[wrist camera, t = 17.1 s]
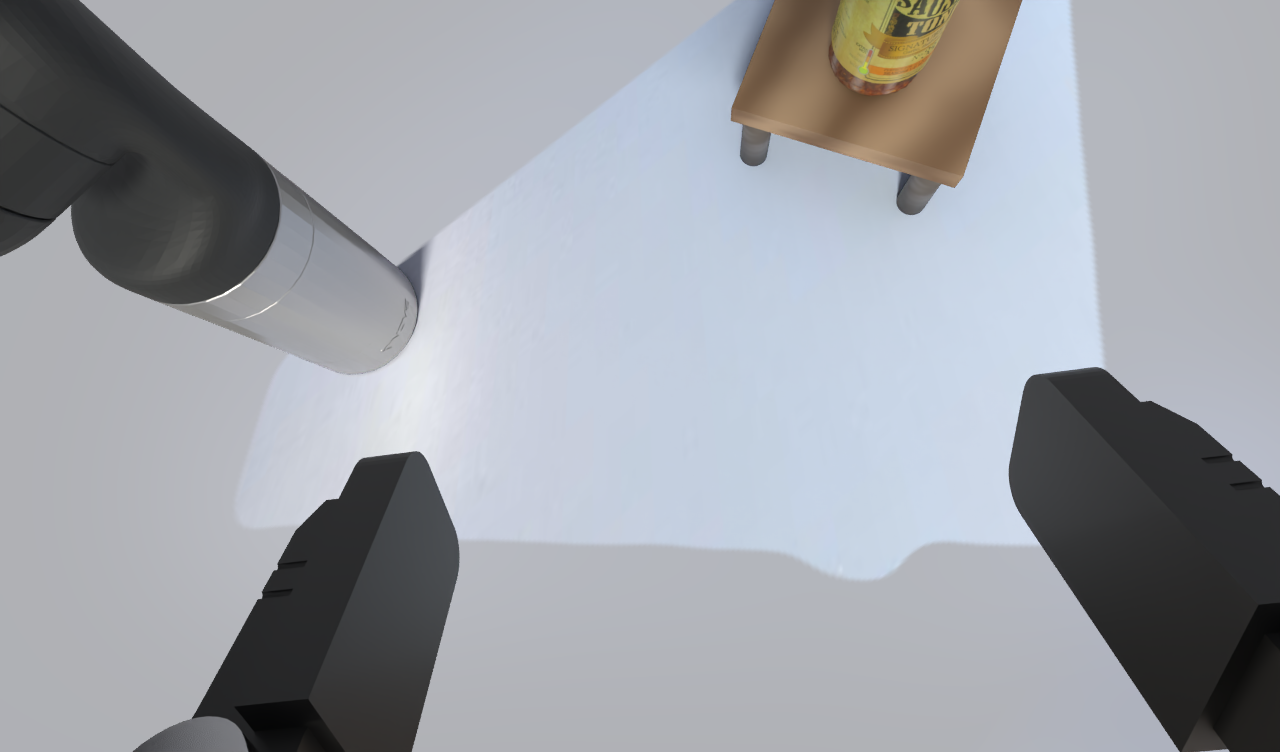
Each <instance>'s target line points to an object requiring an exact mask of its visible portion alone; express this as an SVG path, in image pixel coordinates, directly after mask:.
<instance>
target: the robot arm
mask: <svg viewBox="0 0 1280 752" xmlns="http://www.w3.org/2000/svg"><path fill="white" fill-rule="evenodd" d="M70 205H71V216H72V225H73V231H74V235H75V238H76V241H77V243H78V245H79V247H80V249H81V251H82V253H83V255H84V256H85V258H86V259H87V260H88V262H89V263H90V264H91V265H92V266H93V267H94V268H95V269H96V270H97V271H98V272H99V273H100V274H102V275H103V276H104V277H105V278H107V279H108V280H110V281H112V282H113V283H115V284H117V285H119V286H121V287H123V288H125V289H127V290H129V291H132V292H134V293H137V294H139V295H142V296H144V297H147V298H150V299H152V300H154V301H157V302H159V303H162V304H165V305H167V306H170V307H172V308H175V309H177V310H180V311H182V312H185V313H188V314H190V315H192V316H195V317H198V318H201V319H203V320H206V321H208V322H211V323H213V324H216V325H218V326H221V327H223V328H226V329H229V330H231V331H234V332H236V333H239V334H241V335H244V336H246V337H249V338H251V339H254V340H256V341H259V342H261V343H264V344H266V345H269V346H271V347H274V348H277V349H279V350H282V351H284V352H287V353H289V354H292V355H294V356H297V357H299V358H301V359H304V360H306V361H309V362H312V363H314V364H317V365H319V366H322V367H324V368H327V369H330V370H332V371H335V372H338V373H344V374H363V373H366V372H370V371H374V370H376V369H378V368H380V367H382V366H384V365H386V364H387V363H389V362H390V361H391V360H392V359H394V358H395V357H396V356H397V355H398V354H399V353H400V352H401V351H402V349H403V348H404V347H405V346H406V344H407V342H408V341H409V339H410V337H411V336H412V333H413V330H414V327H415V324H416V318H417V299H416V295H415V292H414V289H413V286H412V285H411V283H410V281H409V280H408V278H407V277H406V276H405V275H404V274H403V273H402V271H401V270H400V269H399V268H397V267H396V266H395V265H394V264H392V263H391V262H390V261H389V260H387V259H386V258H385V257H384V256H383V255H381V254H380V253H379V252H378V251H377V250H376V249H374V248H373V247H372V246H370V245H369V244H368V243H367V242H366V241H364V240H363V239H362V238H361V237H360V236H358V235H357V234H356V233H354V232H353V231H352V230H351V229H350V228H348V227H347V226H346V225H345V224H343V223H342V222H341V221H340V220H339V219H337V218H336V217H335V216H333V215H332V214H331V213H330V212H329V211H327V210H326V209H325V208H324V207H323V206H321V205H320V204H319V203H318V202H316V201H315V200H314V199H313V198H311V197H310V196H309V195H308V194H306V193H305V192H304V191H303V190H301V189H300V188H299V187H298V186H297V185H295V184H294V183H293V182H292V181H290V180H289V179H288V178H287V177H285V176H284V175H283V174H281V173H280V172H279V171H278V170H276V169H275V168H274V167H273V166H272V165H270V164H269V163H268V162H266V161H265V160H264V159H263V158H262V157H260V156H259V155H258V154H257V153H256V152H255V151H254V150H252V149H251V148H250V147H249V146H247V145H246V144H245V143H244V142H242V141H241V140H240V139H238V138H237V137H236V136H235V135H233V134H232V133H231V132H229V131H228V130H227V129H226V128H224V127H223V126H222V125H221V124H219V123H218V122H217V121H215V120H214V119H213V118H212V117H210V116H209V115H208V114H207V113H205V112H204V111H203V110H202V109H200V108H199V107H198V106H197V105H196V104H194V103H193V102H192V101H190V100H189V99H188V98H187V97H186V96H185V95H183V94H182V93H181V92H180V91H178V90H177V89H176V88H175V87H174V86H173V85H171V84H170V83H169V82H168V81H167V80H166V79H165V78H164V77H162V76H161V75H160V74H159V73H158V72H157V71H156V70H155V69H153V68H152V67H151V66H150V65H149V64H148V63H147V62H146V61H145V60H144V59H143V58H141V57H140V56H139V55H138V54H137V53H136V52H135V51H134V50H133V49H132V48H131V47H129V46H128V45H127V44H126V43H125V42H124V41H123V40H122V39H120V37H119V36H117V35H116V34H115V33H114V32H113V31H112V30H111V29H110V28H109V27H108V26H106V25H105V24H104V23H103V22H102V21H101V20H100V19H99V18H98V17H97V16H96V15H94V14H93V13H92V12H91V11H90V10H89V9H88V8H87V7H86V6H85V5H84V4H83V3H81V2H80V1H79V0H0V256H3V255H5V254H7V253H9V252H11V251H13V250H15V249H17V248H19V247H20V246H22V245H24V244H26V243H27V242H29V241H30V240H31V239H33V238H34V237H36V236H37V235H38V234H39V233H41V232H42V231H43V230H44V229H45V228H46V227H48V226H49V225H50V224H51V223H52V222H53V221H54V220H55V219H56V217H58V216H59V215H60V214H61V213H63V212H64V211H65V210H66V209H67V208H68V207H69V206H70ZM1009 483H1010V488H1011V493H1012V496H1013V499H1014V502H1015V505H1016V507H1017V509H1018V511H1019V512H1020V514H1021V516H1022V517H1023V519H1024V520H1025V522H1026V523H1027V525H1028V526H1029V528H1030V529H1031V531H1032V532H1033V534H1034V535H1035V537H1036V538H1037V540H1038V541H1039V543H1040V544H1041V546H1042V547H1043V549H1044V550H1045V552H1046V553H1047V555H1048V556H1049V557H1050V559H1051V561H1052V562H1053V564H1054V565H1055V567H1056V568H1057V569H1058V571H1059V572H1060V574H1061V575H1062V577H1063V578H1064V580H1065V581H1066V583H1067V584H1068V586H1069V587H1070V589H1071V590H1072V592H1073V593H1074V595H1075V596H1076V598H1077V599H1078V601H1079V602H1080V604H1081V605H1082V607H1083V608H1084V610H1085V611H1086V613H1087V614H1088V616H1089V617H1090V619H1091V620H1092V622H1093V623H1094V625H1095V626H1096V628H1097V629H1098V631H1099V632H1100V634H1101V635H1102V636H1103V638H1104V639H1105V641H1106V642H1107V644H1108V645H1109V647H1110V649H1111V650H1112V651H1113V653H1114V654H1115V656H1116V657H1117V659H1118V660H1119V662H1120V663H1121V665H1122V666H1123V668H1124V669H1125V671H1126V672H1127V674H1128V675H1129V677H1130V678H1131V680H1132V681H1133V683H1134V684H1135V686H1136V687H1137V689H1138V690H1139V692H1140V693H1141V695H1142V696H1143V698H1144V699H1145V701H1146V702H1147V704H1148V705H1149V707H1150V708H1151V710H1152V711H1153V713H1154V714H1155V716H1156V717H1157V718H1158V720H1159V721H1160V723H1161V725H1162V726H1163V728H1164V729H1165V731H1166V732H1167V733H1168V735H1169V736H1170V738H1171V739H1172V741H1173V742H1174V744H1175V745H1176V747H1177V748H1178V750H1179V751H1180V752H1200V751H1210V750H1222V749H1228V750H1229V751H1230V752H1280V496H1279V495H1278V494H1277V493H1276V492H1275V491H1274V490H1272V489H1271V488H1270V487H1266V488H1264V487H1263V485H1262V480H1261V479H1260V478H1259V477H1258V476H1257V475H1255V474H1254V473H1253V472H1252V471H1250V469H1248V468H1247V467H1246V466H1245V465H1244V464H1243V463H1242V462H1240V461H1234V460H1233V459H1232V454H1231V453H1230V452H1229V451H1228V450H1227V449H1226V448H1224V447H1223V446H1222V445H1221V444H1220V443H1219V442H1217V441H1216V440H1215V439H1214V438H1213V437H1212V436H1211V435H1209V434H1208V433H1207V432H1206V431H1204V429H1203V428H1201V427H1200V426H1199V425H1198V424H1196V423H1194V422H1192V421H1190V420H1188V419H1186V418H1184V417H1182V416H1180V415H1178V414H1176V413H1174V412H1172V411H1170V410H1168V409H1166V408H1164V407H1162V406H1160V405H1158V404H1156V403H1154V402H1152V401H1146V402H1140V401H1139V400H1138V399H1137V398H1135V397H1134V396H1133V395H1132V394H1131V393H1130V392H1129V391H1128V390H1127V389H1126V388H1124V387H1123V386H1122V385H1121V384H1120V383H1119V382H1118V381H1117V380H1116V379H1115V378H1114V377H1112V375H1110V374H1109V373H1108V372H1107V371H1106V370H1104V369H1102V368H1098V367H1092V368H1084V369H1077V370H1069V371H1061V372H1053V373H1045V374H1037V375H1033V376H1031V377H1030V378H1029V379H1028V381H1027V382H1026V384H1025V387H1024V391H1023V395H1022V401H1021V406H1020V411H1019V416H1018V422H1017V427H1016V432H1015V437H1014V443H1013V448H1012V453H1011V458H1010V464H1009ZM458 570H459V545H458V538H457V534H456V531H455V528H454V525H453V523H452V521H451V518H450V516H449V513H448V511H447V508H446V506H445V503H444V501H443V499H442V496H441V494H440V491H439V489H438V486H437V484H436V481H435V479H434V476H433V474H432V472H431V469H430V467H429V464H428V462H427V460H426V459H425V457H424V456H423V455H422V454H421V453H420V452H417V451H415V452H407V453H399V454H391V455H383V456H375V457H367V458H363V459H361V460H360V461H359V462H358V463H357V464H356V466H355V467H354V469H353V471H352V473H351V475H350V477H349V479H348V481H347V483H346V485H345V487H344V489H343V491H342V493H341V495H340V497H339V499H332V500H326V501H325V502H324V503H323V504H322V505H321V506H320V507H319V508H318V509H317V510H316V511H315V512H314V513H313V514H312V515H311V516H310V517H309V518H308V519H307V520H306V521H305V522H304V523H303V524H302V525H301V526H300V527H299V528H298V529H297V530H296V531H295V533H294V535H293V536H292V538H291V540H290V542H289V544H288V545H287V547H286V549H285V551H284V553H283V555H282V556H281V559H280V560H279V562H278V570H275V571H273V573H272V575H271V577H270V578H269V580H268V582H267V584H266V585H265V587H264V589H263V591H262V594H263V597H262V599H258V600H257V602H256V604H255V606H254V607H253V609H252V611H251V613H250V615H249V616H248V618H247V620H246V622H245V624H244V626H243V627H242V629H241V631H240V633H239V635H238V636H237V638H236V640H235V642H234V644H233V646H232V647H231V649H230V651H229V653H228V655H227V656H226V658H225V660H224V662H223V664H222V666H221V668H220V669H219V671H218V673H217V675H216V676H215V678H214V680H213V682H212V684H211V686H210V687H209V689H208V691H207V693H206V695H205V697H204V698H203V700H202V702H201V704H200V706H199V707H198V709H197V711H196V713H195V714H194V716H193V717H192V719H190V720H187V721H183V722H181V723H178V724H176V725H174V726H171V727H169V728H167V729H165V730H164V731H162V732H160V733H158V734H157V735H155V736H153V737H152V738H150V739H149V740H147V741H146V742H144V743H143V744H141V745H140V746H139V747H138V748H136V749H135V750H134V751H133V752H412V748H413V745H414V741H415V737H416V733H417V729H418V725H419V722H420V718H421V714H422V710H423V706H424V702H425V699H426V695H427V691H428V687H429V683H430V679H431V675H432V672H433V668H434V664H435V660H436V657H437V653H438V648H439V645H440V641H441V637H442V633H443V630H444V626H445V622H446V618H447V614H448V611H449V607H450V603H451V599H452V595H453V592H454V588H455V584H456V580H457V576H458Z"/></svg>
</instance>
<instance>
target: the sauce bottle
mask: <svg viewBox="0 0 1280 752" xmlns="http://www.w3.org/2000/svg"><path fill="white" fill-rule="evenodd" d="M959 1H960V0H841V1H840V5H839V8H838V11H837V15H836V18H835V21H834V24H833V27H832V33H831V35H832V41H831V44H830V46H829V60H830V65H831V68H832V70H833V73H834V75H835V76H836V77H837V78H838V80H839V81H840V82H841V83H842V84H843V85H845V86H846V87H847V88H848V89H850V90H851V91H853V92H856V93H859V94H863V95H868V96H877V95H887V94H890V93H895V92H897V91H899V90H900V89H903V88H905V87H907V86H908V84H909V83H911V82H912V80H913V79H914V78H915V77H916V76H917V74H918V73H919V71H920V70H921V69H923V67H924V66H925V65H926V64H927V62H928V61H929V59H930V57H931V55H932V53H933V51H934V49H935V47H936V45H937V43H938V42H939V40H940V38H941V36H942V34H943V32H944V30H945V28H946V26H947V24H948V22H949V20H950V18H951V16H952V14H953V12H954V10H955V8H956V6H957V5H958V3H959Z"/></svg>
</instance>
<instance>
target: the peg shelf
mask: <svg viewBox="0 0 1280 752" xmlns="http://www.w3.org/2000/svg"><path fill="white" fill-rule="evenodd" d="M840 1H841V0H775V1H774V4H773V6H772V9H771V11H770V14H769V16H768V19H767V21H766V24H765V26H764V29H763V31H762V34H761V36H760V39H759V41H758V44H757V46H756V48H755V51H754V53H753V56H752V58H751V61H750V63H749V66H748V68H747V71H746V73H745V76H744V78H743V81H742V83H741V86H740V88H739V91H738V93H737V96H736V98H735V101H734V103H733V106H732V111H731V121H733V122H737V123H740V124H743V130H742V140H741V151H740V157H741V159H742V161H743V162H744V163H745V164H747V165H749V166H758V165H760V164H762V163H763V162H764V161H765V159H766V157H767V152H768V146H769V140H770V134H771V133H774V134H777V135H780V136H784V137H787V138H790V139H794V140H797V141H800V142H804V143H807V144H810V145H814V146H817V147H820V148H824V149H827V150H830V151H834V152H837V153H840V154H844V155H847V156H850V157H854V158H857V159H860V160H864V161H867V162H870V163H874V164H877V165H880V166H884V167H887V168H890V169H894V170H897V171H900V172H904V173H907V174H910V175H911V176H910V177H909V179H908V181H907V182H906V184H905V186H904V187H903V189H902V191H901V192H900V194H899V196H898V197H897V206H898V208H899V209H900V211H902V212H903V213H905V214H908V215H915V214H918V213H920V212H921V211H922V210H923V208H924V207H925V206H926V204H927V203H928V201H929V200H930V199H931V197H932V196H933V194H934V193H935V192H936V190H937V189H938V187H939V186H940V184H944V185H947V186H950V187H954V188H955V187H956V185H957V184H958V183H959V181H960V180H961V179H962V177H963V176H964V173H965V170H966V167H967V164H968V161H969V158H970V155H971V152H972V149H973V146H974V143H975V140H976V137H977V134H978V131H979V128H980V125H981V122H982V119H983V116H984V113H985V110H986V107H987V104H988V101H989V98H990V95H991V92H992V89H993V86H994V83H995V80H996V77H997V74H998V71H999V68H1000V65H1001V62H1002V59H1003V56H1004V53H1005V50H1006V47H1007V44H1008V41H1009V38H1010V35H1011V32H1012V29H1013V26H1014V23H1015V20H1016V17H1017V14H1018V11H1019V8H1020V5H1021V2H1022V0H960V1H959V3H958V5H957V6H956V8H955V10H954V12H953V14H952V16H951V18H950V20H949V22H948V24H947V26H946V28H945V30H944V32H943V34H942V36H941V38H940V40H939V42H938V43H937V45H936V47H935V49H934V51H933V53H932V55H931V57H930V59H929V61H928V62H927V64H926V65H925V66H924V67H923V69H921V70H920V71H919V73H918V74H917V76H916V77H915V78H914V79H913V80H912V82H911V83H909V84H908V86H907V87H905V88H903V89H900V90H899V91H897V92H895V93H890V94H887V95H877V96H868V95H863V94H859V93H856V92H853V91H851V90H850V89H848V88H847V87H846V86H845V85H843V84H842V83H841V82H840V81H839V80H838V78H837V77H836V76H835V75H834V73H833V70H832V68H831V65H830V60H829V46H830V44H831V41H832V35H831V33H832V27H833V24H834V21H835V18H836V15H837V11H838V8H839V5H840Z"/></svg>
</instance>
